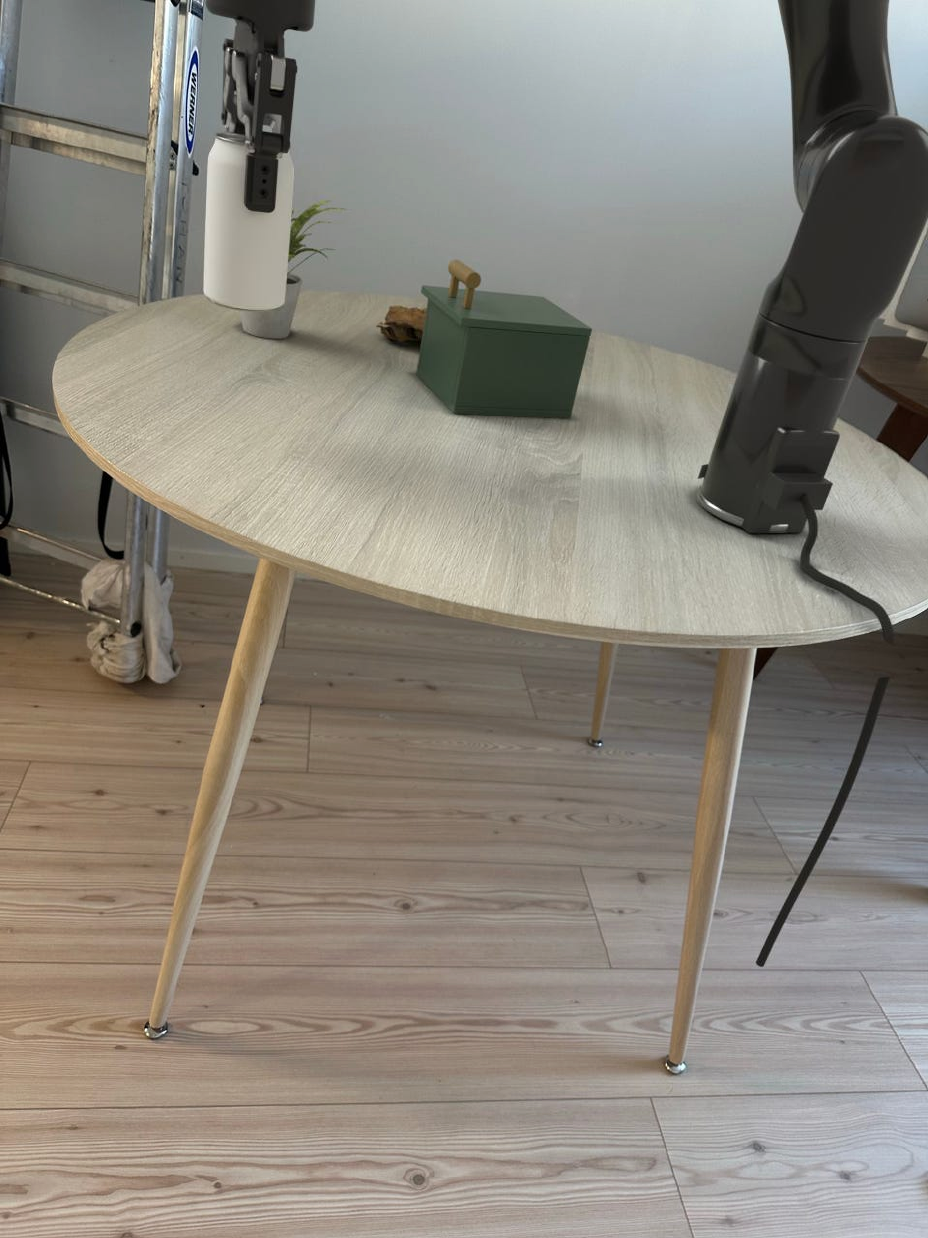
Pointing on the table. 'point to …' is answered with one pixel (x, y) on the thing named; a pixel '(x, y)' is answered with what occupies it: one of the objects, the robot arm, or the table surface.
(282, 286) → the can
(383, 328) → the brown tree bark piece
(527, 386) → the bin
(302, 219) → the house plant
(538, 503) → the table surface
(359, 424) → the table surface
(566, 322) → the bread bin lid
